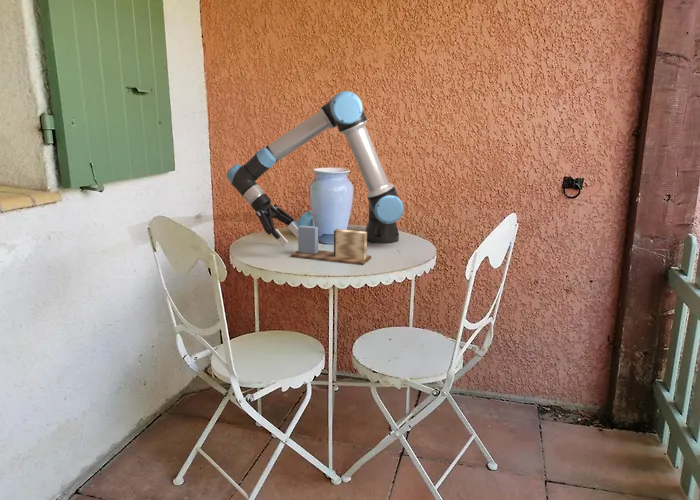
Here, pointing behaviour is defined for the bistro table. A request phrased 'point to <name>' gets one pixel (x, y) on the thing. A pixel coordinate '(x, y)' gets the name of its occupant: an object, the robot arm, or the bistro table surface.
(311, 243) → the pale blue rectangular block
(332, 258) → the l-shaped wooden stand
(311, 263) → the bistro table surface
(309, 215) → the blue round finned body
